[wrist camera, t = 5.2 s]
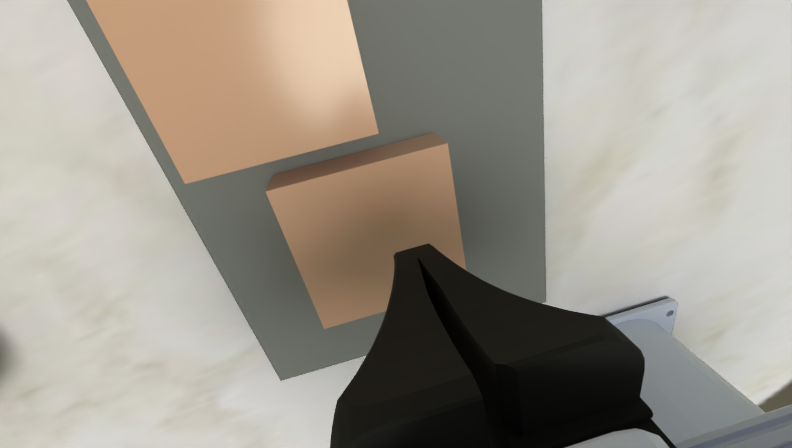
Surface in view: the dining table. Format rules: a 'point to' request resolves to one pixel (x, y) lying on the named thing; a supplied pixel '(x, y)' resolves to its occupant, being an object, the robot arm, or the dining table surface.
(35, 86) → the dining table surface
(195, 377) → the dining table surface
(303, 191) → the tile
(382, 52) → the mat
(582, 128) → the dining table surface
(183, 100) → the turned tile
